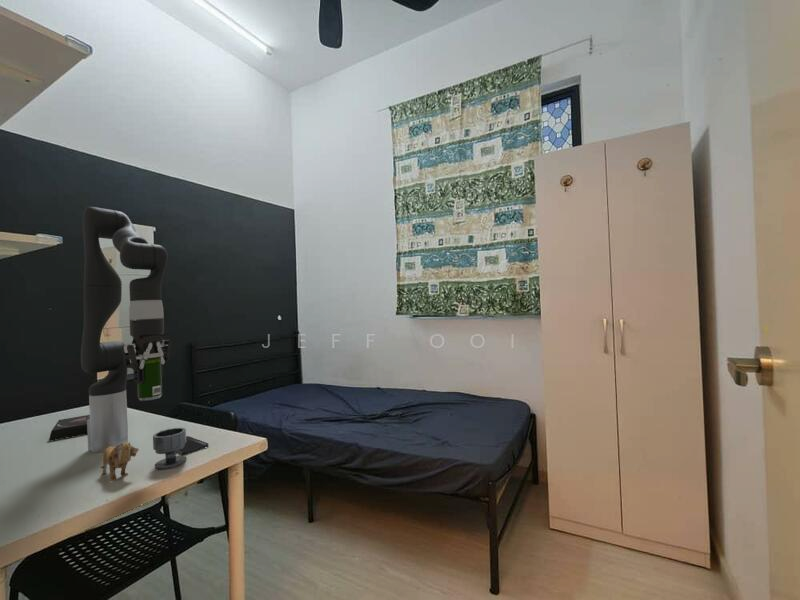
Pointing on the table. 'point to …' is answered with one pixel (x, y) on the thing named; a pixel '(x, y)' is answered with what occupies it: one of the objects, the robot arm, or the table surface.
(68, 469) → the table surface
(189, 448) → the phone
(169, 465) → the cup bracket
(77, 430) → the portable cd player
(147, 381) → the green drink can
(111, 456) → the lion figurine
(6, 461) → the table surface
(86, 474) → the table surface
